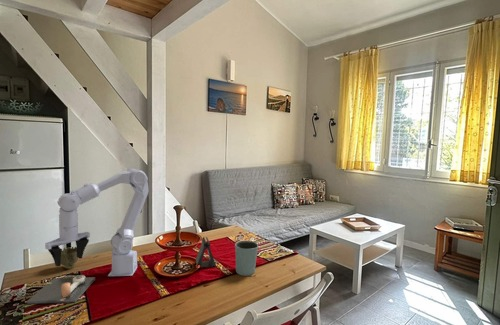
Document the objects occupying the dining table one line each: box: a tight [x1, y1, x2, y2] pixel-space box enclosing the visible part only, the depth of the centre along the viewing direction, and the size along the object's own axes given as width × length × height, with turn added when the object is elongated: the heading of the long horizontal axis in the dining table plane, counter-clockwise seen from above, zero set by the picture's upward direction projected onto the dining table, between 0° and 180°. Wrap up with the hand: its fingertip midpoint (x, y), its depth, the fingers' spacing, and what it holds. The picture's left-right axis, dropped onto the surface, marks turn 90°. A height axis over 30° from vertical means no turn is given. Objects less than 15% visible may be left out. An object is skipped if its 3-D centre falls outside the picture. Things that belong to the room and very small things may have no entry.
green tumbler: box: [234, 240, 259, 276], centre depth 117 cm, size 10×10×12 cm
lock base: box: [26, 276, 96, 305], centre depth 97 cm, size 16×16×1 cm
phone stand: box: [195, 236, 217, 269], centre depth 122 cm, size 9×6×12 cm, turn 107°
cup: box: [61, 246, 79, 270], centre depth 114 cm, size 8×7×8 cm
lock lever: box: [61, 274, 86, 297], centre depth 96 cm, size 4×12×4 cm, turn 8°
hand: (69, 261), depth 99 cm, fingers open, 7 cm apart
